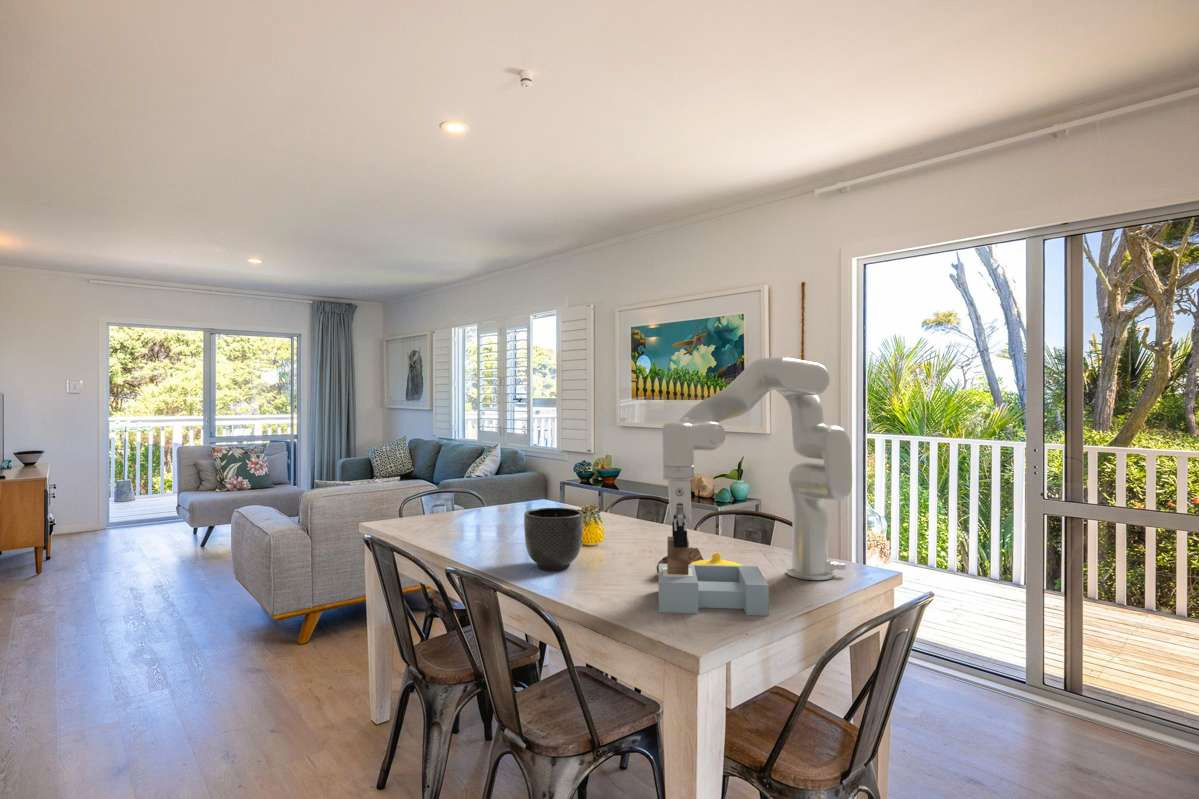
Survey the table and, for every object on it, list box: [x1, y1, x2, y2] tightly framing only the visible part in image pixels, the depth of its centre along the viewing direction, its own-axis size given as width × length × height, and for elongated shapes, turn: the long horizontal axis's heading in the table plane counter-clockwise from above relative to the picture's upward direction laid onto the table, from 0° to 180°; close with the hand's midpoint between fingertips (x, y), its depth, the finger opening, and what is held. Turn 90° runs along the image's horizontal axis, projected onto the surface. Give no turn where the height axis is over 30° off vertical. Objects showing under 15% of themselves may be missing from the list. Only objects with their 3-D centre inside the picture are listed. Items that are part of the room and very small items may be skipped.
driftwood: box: [656, 546, 705, 575], centre depth 189 cm, size 23×8×8 cm, turn 156°
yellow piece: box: [691, 552, 743, 566], centre depth 182 cm, size 16×16×7 cm
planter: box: [523, 507, 584, 572], centre depth 194 cm, size 17×17×16 cm
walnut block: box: [666, 536, 690, 575], centre depth 162 cm, size 5×5×8 cm
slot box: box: [658, 564, 770, 617], centre depth 161 cm, size 25×17×7 cm
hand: (679, 542), depth 162 cm, fingers open, 9 cm apart
